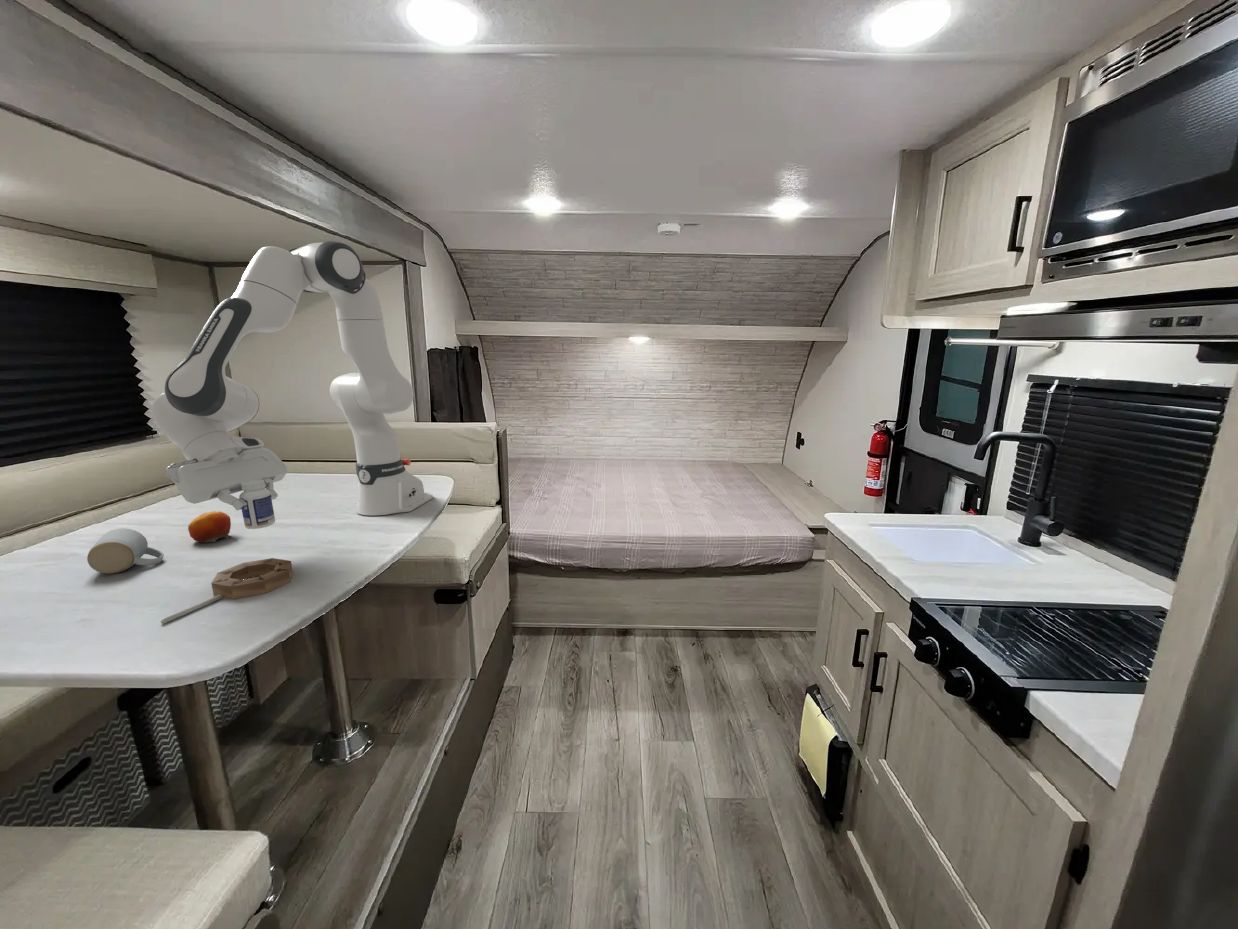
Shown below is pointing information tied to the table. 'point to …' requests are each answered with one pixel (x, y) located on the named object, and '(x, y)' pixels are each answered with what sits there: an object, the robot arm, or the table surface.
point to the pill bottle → (257, 505)
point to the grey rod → (190, 609)
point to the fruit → (210, 527)
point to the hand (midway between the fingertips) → (258, 502)
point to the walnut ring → (235, 587)
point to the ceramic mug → (121, 551)
